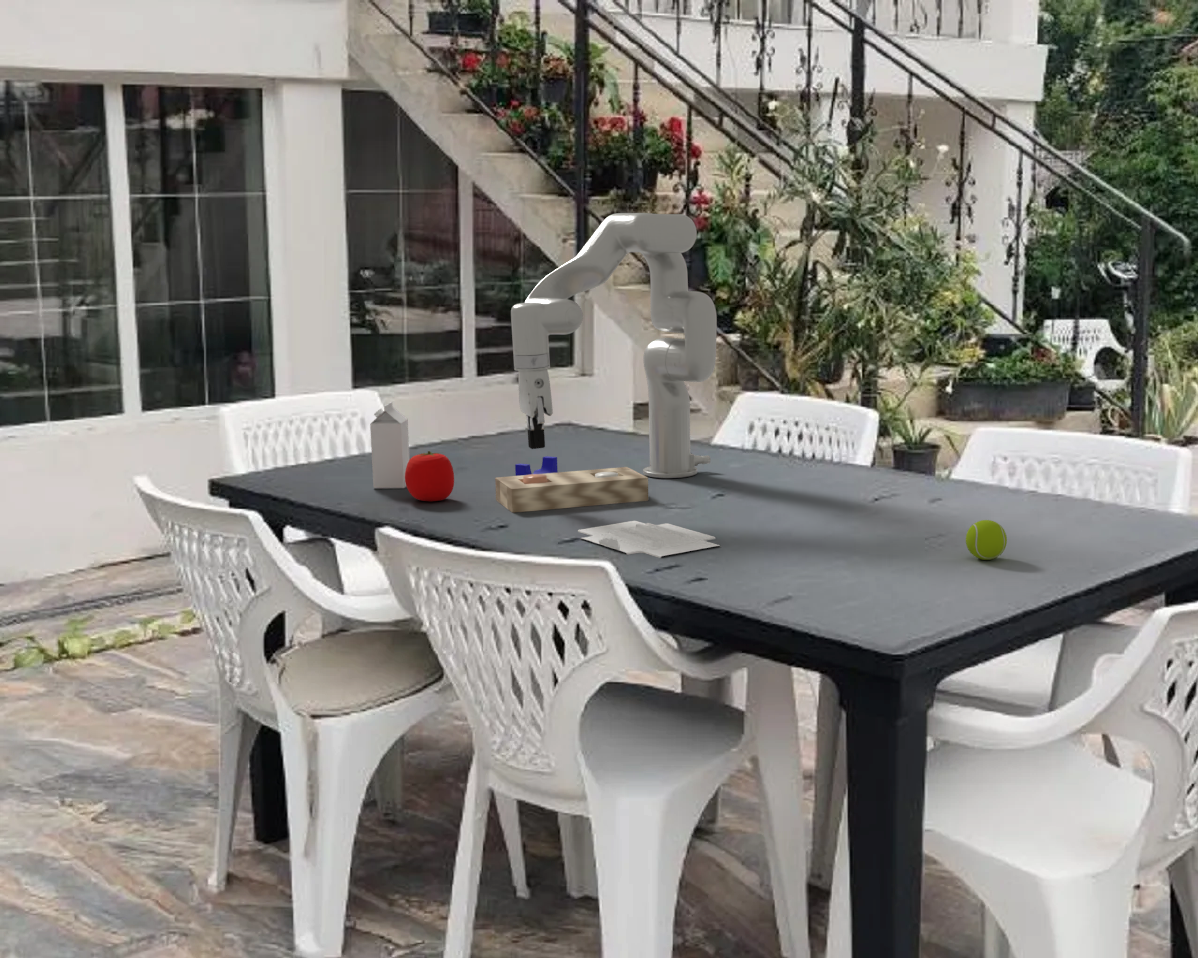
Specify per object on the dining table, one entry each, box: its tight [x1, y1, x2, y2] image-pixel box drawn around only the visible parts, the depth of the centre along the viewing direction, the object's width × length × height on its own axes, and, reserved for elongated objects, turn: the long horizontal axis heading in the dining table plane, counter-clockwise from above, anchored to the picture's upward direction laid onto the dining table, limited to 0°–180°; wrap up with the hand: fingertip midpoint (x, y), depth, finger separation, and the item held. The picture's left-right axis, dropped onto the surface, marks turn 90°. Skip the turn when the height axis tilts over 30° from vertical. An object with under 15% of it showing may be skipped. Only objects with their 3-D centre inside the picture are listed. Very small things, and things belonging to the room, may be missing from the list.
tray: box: [577, 520, 722, 559], centre depth 289 cm, size 20×28×4 cm
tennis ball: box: [965, 519, 1008, 561], centre depth 267 cm, size 7×7×7 cm
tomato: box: [405, 450, 455, 502], centre depth 330 cm, size 10×11×11 cm
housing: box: [494, 466, 649, 513], centre depth 327 cm, size 30×14×5 cm, turn 108°
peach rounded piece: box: [523, 473, 547, 484], centre depth 324 cm, size 5×5×5 cm
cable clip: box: [514, 455, 559, 476], centre depth 344 cm, size 12×4×6 cm, turn 147°
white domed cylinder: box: [595, 472, 618, 478], centre depth 329 cm, size 5×5×5 cm
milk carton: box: [369, 401, 411, 489], centre depth 347 cm, size 7×7×19 cm
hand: (536, 447), depth 323 cm, fingers closed
